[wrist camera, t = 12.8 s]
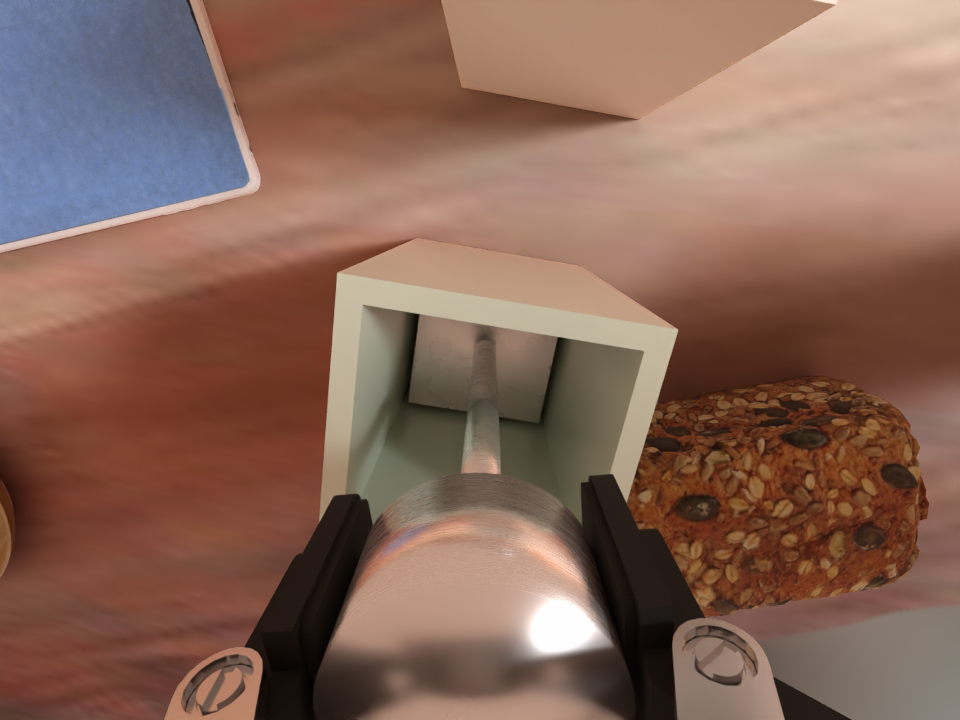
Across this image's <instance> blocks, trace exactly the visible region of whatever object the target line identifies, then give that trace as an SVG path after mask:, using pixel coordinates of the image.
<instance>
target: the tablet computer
mask: <svg viewBox="0 0 960 720" xmlns="http://www.w3.org/2000/svg"><path fill="white" fill-rule="evenodd" d="M259 186H260V174H259V171H258V168H257V165H256V162H255V159H254V156H253V153H252V152H251V150H250V145H249V140H248V137H247V134H246V131H245V128H244V125H243V122H242V119H241V116H240V114H239V111H238V108H237V105H236V101H235V98H234V95H233V92H232V89H231V86H230V83H229V80H228V77H227V74H226V71H225V68H224V65H223V62H222V59H221V55H220V52H219V49H218V46H217V43H216V40H215V37H214V34H213V31H212V28H211V25H210V22H209V19H208V16H207V13H206V10H205V7H204V3H203V0H0V253H3V252H7V251H11V250H15V249H19V248H24V247H28V246H32V245H37V244H41V243H45V242H50V241H54V240H58V239H62V238H66V237H71V236H75V235H79V234H84V233H88V232H92V231H97V230H101V229H105V228H109V227H113V226H118V225H122V224H127V223H131V222H135V221H139V220H143V219H148V218H152V217H156V216H161V215H168V214H173V213H176V212H180V211H186V210H190V209H194V208H197V207H199V206H203V205H210V204H215V203H219V202H222V201H225V200H229V199H233V198H237V197H242V196H247V195H250V194H253V193H254V192H256V191H257V190H258V188H259Z"/></svg>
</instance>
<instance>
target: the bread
mask: <svg viewBox="0 0 960 720" xmlns="http://www.w3.org/2000/svg"><path fill="white" fill-rule="evenodd" d="M910 426H911V425H910V424H909V422H908V421H907V420H906V418H905V417H904V416H903V414H902V413H901V412H900V411H899V410H898V409H897V408H895V407H894V406H893V405H891V404H890V403H889V402H887V401H885V400H884V399H881V398H879V397H876V396H874V395H870V394H867V393H865V392H864V391H863V390H861V389H860V388H858V387H857V386H855V385H853V384H850V383H847V382H844V381H840V380H835V379H831V378H828V377H825V376H807V377H800V378H794V379H791V380H787V381H781V382H775V383H770V384H761V385H754V386H750V387H748V388H746V389H733V390H725V391H719V392H717V393H714V394H705V395H703V396H701V397H692V398H686V399H685V400H674V401H671V402H668V403H656V406H655V410H654V413H653V416H652V420H651V423H650V426H649V430H648V433H647V436H646V440H645V443H644V446H643V450H642V453H641V456H640V460H639V463H638V466H637V470H636V473H635V476H634V480H633V483H632V486H631V490H630V493H629V496H628V500H627V505H628V507H629V509H630V512H631V514H632V516H633V518H634V520H635V522H636V525H637V527H638V529H651V528H656V529H658V530H659V531H660V533H661V534H662V536H663V538H664V540H665V542H666V544H667V546H668V548H669V550H670V551H671V553H672V555H673V557H674V559H675V561H676V563H677V565H678V567H679V569H680V571H681V572H682V574H683V576H684V578H685V580H686V582H687V584H688V586H689V588H690V590H691V591H692V593H693V595H694V597H695V599H696V601H697V603H698V605H699V607H700V609H701V610H702V612H703V614H704V616H705V618H706V617H710V616H723V615H729V614H733V613H735V612H736V611H737V610H739V609H746V610H749V609H753V608H757V607H761V606H764V605H767V606H776V605H783V604H785V603H787V602H788V601H790V600H795V601H796V600H803V599H813V598H821V597H827V596H836V595H838V594H842V593H848V592H852V591H856V590H862V591H863V590H867V589H877V588H879V587H881V586H883V585H887V584H890V583H894V582H895V581H896V580H898V579H899V578H901V577H903V576H905V575H906V574H907V573H908V572H909V570H910V569H911V567H912V566H913V564H914V563H915V561H916V559H917V557H918V554H919V549H918V547H917V546H916V542H917V526H918V523H919V521H920V520H923V519H927V514H928V507H929V502H928V501H927V499H926V489H925V486H924V483H923V480H922V478H921V476H920V475H921V471H920V470H919V468H918V466H919V463H918V461H917V459H916V457H917V454H918V452H919V449H920V446H919V444H918V442H917V440H916V439H915V438H914V437H913V436H912V435H911V434H910Z"/></svg>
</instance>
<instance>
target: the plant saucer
mask: <svg viewBox="0 0 960 720" xmlns="http://www.w3.org/2000/svg"><path fill="white" fill-rule="evenodd" d="M14 536H15V516H14V510H13V504H12V501H11V498H10V495H9V493H8V491H7V489H6V487H5V485H4V483H3V481H2V480H1V478H0V577H1V576H2V574H3V573H4V571H5V569H6V567H7V565H8V562H9V559H10V556H11V552H12V548H13V544H14Z"/></svg>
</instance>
